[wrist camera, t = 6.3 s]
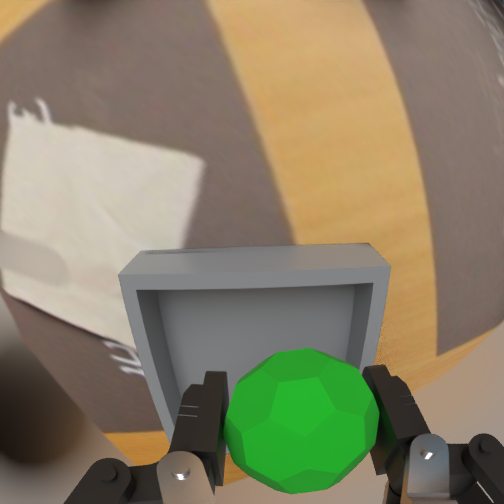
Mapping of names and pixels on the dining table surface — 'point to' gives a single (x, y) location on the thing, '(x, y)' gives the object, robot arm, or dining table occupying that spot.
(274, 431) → the polyhedron
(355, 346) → the crate
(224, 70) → the dining table surface
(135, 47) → the dining table surface
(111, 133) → the dining table surface
